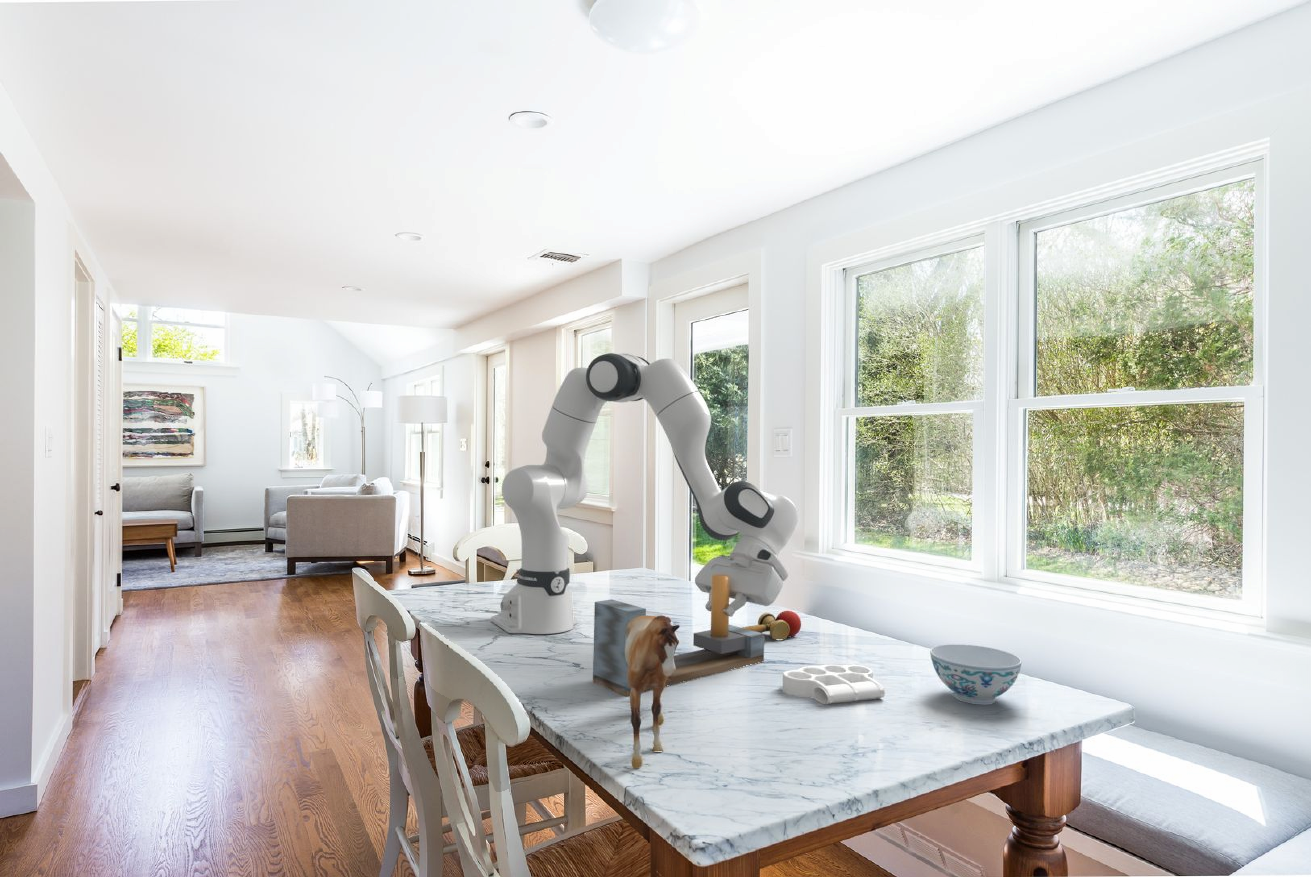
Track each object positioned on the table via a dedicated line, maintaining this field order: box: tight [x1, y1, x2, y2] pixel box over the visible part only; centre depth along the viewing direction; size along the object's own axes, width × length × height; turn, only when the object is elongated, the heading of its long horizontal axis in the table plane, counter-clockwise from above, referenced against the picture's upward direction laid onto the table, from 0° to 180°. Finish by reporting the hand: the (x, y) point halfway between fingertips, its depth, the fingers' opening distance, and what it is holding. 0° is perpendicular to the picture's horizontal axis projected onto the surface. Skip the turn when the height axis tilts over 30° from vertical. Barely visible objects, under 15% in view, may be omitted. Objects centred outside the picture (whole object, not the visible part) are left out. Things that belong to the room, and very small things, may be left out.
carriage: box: [692, 574, 746, 654], centre depth 152 cm, size 8×7×14 cm
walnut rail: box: [592, 599, 765, 697], centre depth 145 cm, size 11×36×15 cm, turn 131°
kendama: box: [741, 610, 802, 640], centre depth 173 cm, size 8×6×18 cm
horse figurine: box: [625, 614, 681, 769], centre depth 112 cm, size 31×8×21 cm, turn 0°
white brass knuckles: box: [782, 664, 886, 706], centre depth 136 cm, size 3×18×15 cm
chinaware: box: [929, 643, 1022, 706], centre depth 133 cm, size 15×15×8 cm
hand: (717, 612), depth 152 cm, fingers closed on carriage, 4 cm apart
